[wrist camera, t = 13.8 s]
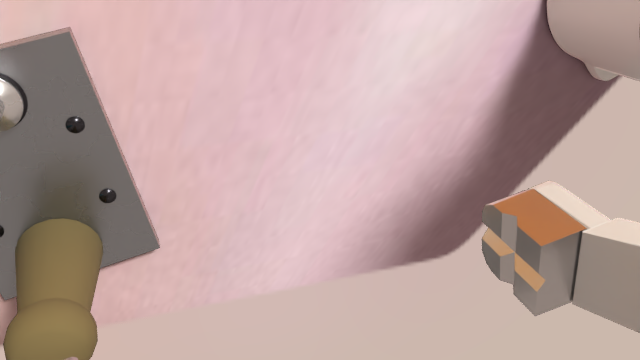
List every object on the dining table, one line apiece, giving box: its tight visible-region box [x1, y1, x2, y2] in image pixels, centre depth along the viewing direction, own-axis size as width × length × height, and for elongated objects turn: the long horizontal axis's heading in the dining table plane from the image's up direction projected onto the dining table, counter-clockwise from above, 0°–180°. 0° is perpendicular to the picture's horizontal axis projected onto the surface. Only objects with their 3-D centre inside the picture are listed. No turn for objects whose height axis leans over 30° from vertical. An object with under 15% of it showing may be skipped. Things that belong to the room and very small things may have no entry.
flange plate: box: [0, 27, 160, 300], centre depth 38 cm, size 12×18×1 cm, turn 10°
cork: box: [3, 218, 103, 360], centre depth 37 cm, size 6×6×11 cm
